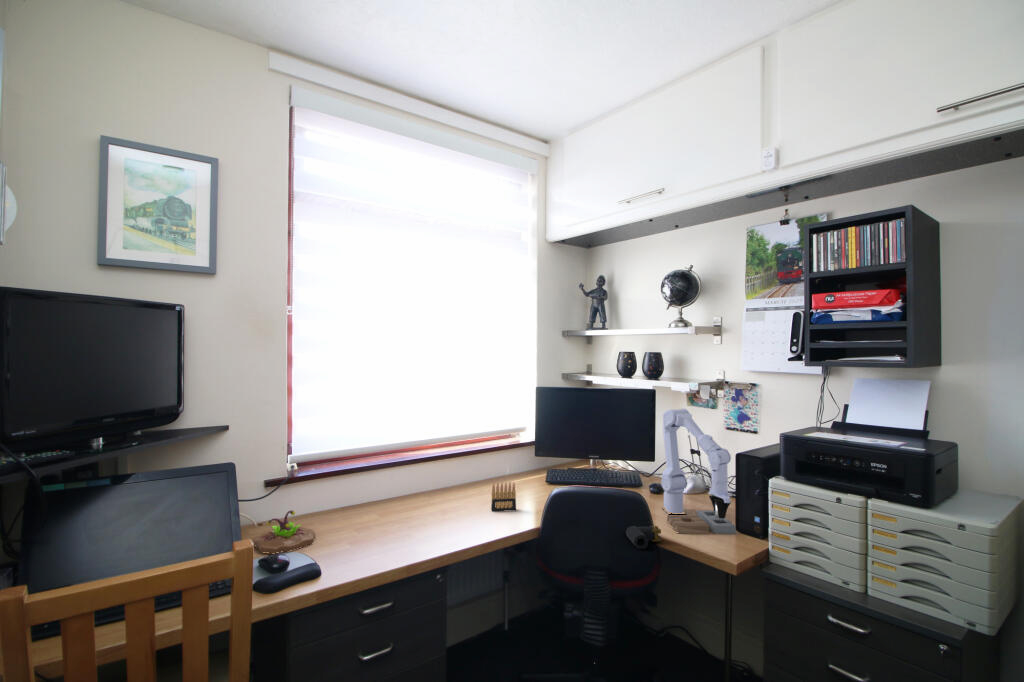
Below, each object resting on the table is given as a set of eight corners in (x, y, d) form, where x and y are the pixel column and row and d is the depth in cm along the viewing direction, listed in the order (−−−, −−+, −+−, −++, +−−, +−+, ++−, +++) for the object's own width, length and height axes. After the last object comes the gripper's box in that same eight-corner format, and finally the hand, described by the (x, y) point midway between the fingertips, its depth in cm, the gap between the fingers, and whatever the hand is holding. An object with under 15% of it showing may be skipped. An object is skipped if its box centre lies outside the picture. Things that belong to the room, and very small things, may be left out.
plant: (324, 543, 176) (324, 512, 177) (265, 559, 163) (265, 525, 163) (303, 529, 191) (303, 500, 191) (248, 542, 178) (248, 511, 178)
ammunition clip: (515, 509, 215) (515, 481, 215) (516, 510, 213) (516, 482, 214) (491, 510, 214) (491, 482, 214) (491, 511, 212) (491, 483, 212)
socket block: (667, 522, 198) (667, 515, 198) (697, 522, 198) (697, 515, 198) (677, 533, 186) (676, 525, 186) (708, 533, 186) (708, 525, 186)
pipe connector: (651, 519, 187) (666, 533, 172) (652, 533, 187) (666, 548, 172) (621, 520, 186) (634, 534, 171) (622, 534, 186) (634, 550, 171)
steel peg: (714, 525, 192) (713, 502, 192) (721, 525, 192) (721, 502, 192) (717, 528, 189) (716, 504, 189) (725, 528, 189) (724, 504, 189)
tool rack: (696, 517, 204) (696, 510, 204) (716, 517, 204) (716, 510, 204) (714, 533, 186) (714, 525, 186) (735, 533, 186) (735, 525, 186)
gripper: (702, 476, 198) (702, 510, 198) (716, 485, 184) (717, 522, 183) (719, 476, 198) (720, 510, 198) (735, 486, 184) (736, 522, 183)
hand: (719, 516), depth 190 cm, fingers closed on steel peg, 3 cm apart
